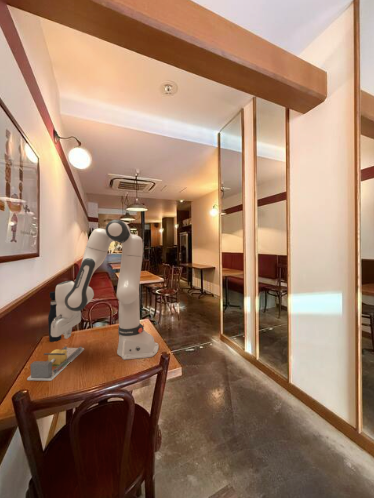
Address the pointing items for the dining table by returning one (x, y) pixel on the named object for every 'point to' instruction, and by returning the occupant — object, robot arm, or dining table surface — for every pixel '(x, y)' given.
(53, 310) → the wine bottle
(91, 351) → the dining table surface
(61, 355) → the block
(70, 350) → the track
